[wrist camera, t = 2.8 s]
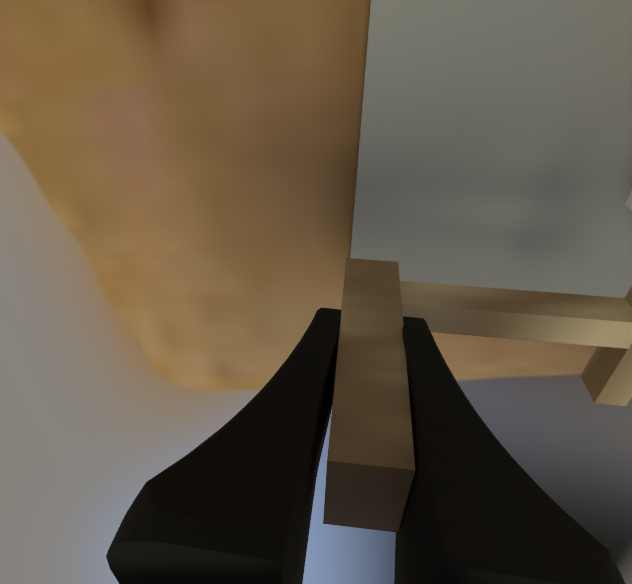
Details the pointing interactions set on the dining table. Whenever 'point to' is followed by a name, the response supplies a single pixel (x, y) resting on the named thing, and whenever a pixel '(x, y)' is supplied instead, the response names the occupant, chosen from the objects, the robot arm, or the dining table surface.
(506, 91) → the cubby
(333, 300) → the dining table surface
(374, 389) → the rake
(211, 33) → the dining table surface
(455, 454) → the robot arm
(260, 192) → the dining table surface
